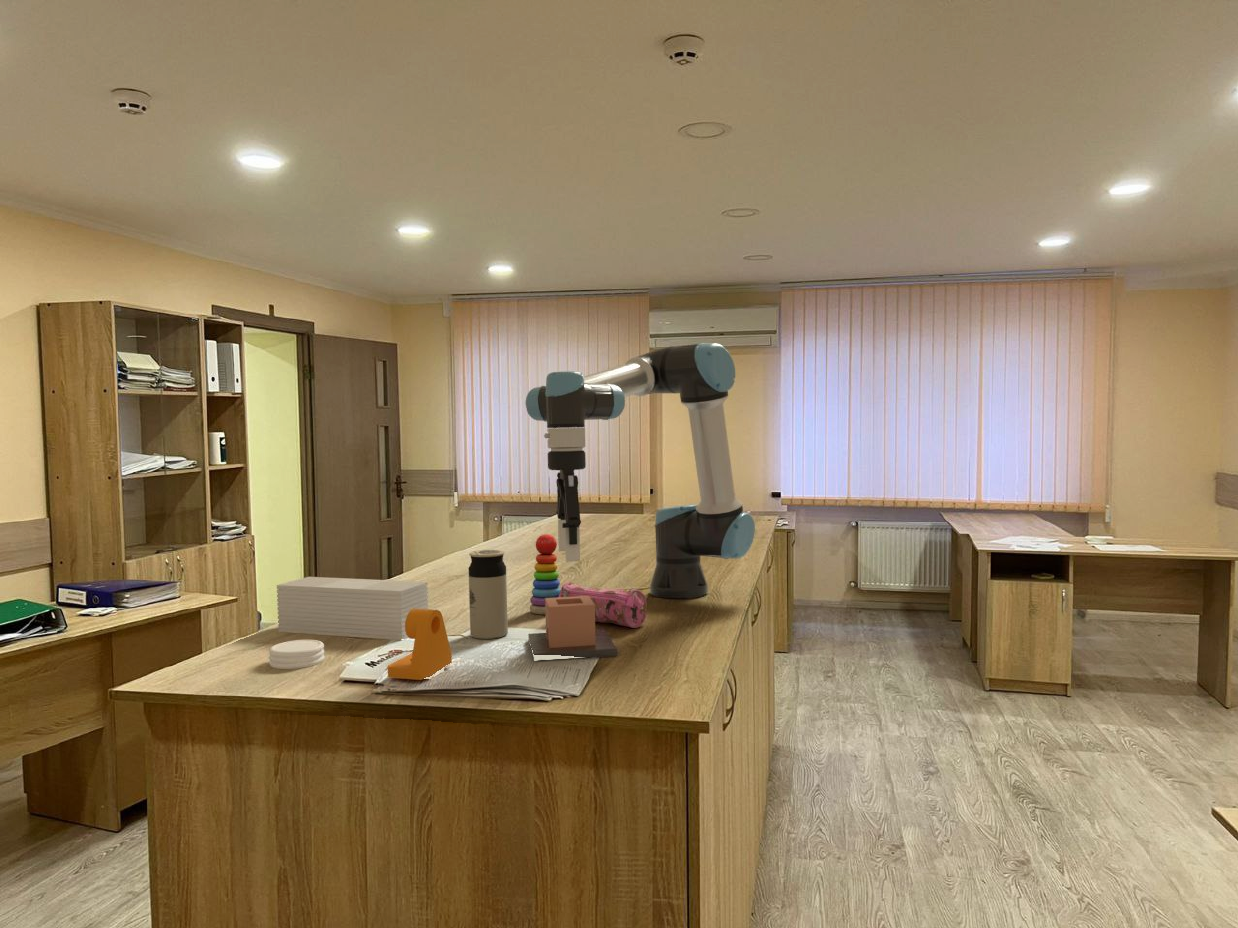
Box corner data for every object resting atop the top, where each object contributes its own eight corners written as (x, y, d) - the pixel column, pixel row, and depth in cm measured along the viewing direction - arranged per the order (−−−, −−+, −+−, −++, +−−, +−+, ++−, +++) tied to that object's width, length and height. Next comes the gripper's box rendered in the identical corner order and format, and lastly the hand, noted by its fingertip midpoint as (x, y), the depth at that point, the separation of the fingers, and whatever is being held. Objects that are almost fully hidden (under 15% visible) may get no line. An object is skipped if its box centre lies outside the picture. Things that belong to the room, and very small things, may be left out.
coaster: (296, 654, 170) (295, 637, 170) (335, 658, 167) (335, 640, 166) (257, 667, 161) (257, 649, 161) (298, 672, 157) (297, 654, 157)
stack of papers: (278, 632, 189) (276, 584, 189) (310, 621, 200) (308, 576, 199) (402, 641, 179) (400, 590, 179) (429, 629, 189) (427, 581, 189)
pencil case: (552, 622, 193) (551, 583, 193) (577, 614, 201) (576, 577, 201) (629, 634, 181) (628, 593, 181) (653, 625, 189) (652, 585, 188)
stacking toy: (558, 615, 199) (556, 536, 198) (525, 614, 201) (523, 536, 200) (566, 608, 207) (564, 532, 206) (535, 607, 209) (533, 532, 208)
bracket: (417, 664, 160) (415, 602, 160) (451, 667, 158) (449, 603, 158) (385, 681, 150) (383, 614, 150) (421, 684, 148) (419, 616, 147)
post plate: (528, 640, 176) (527, 609, 176) (604, 636, 179) (603, 605, 179) (533, 661, 161) (533, 627, 160) (616, 656, 163) (616, 622, 163)
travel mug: (507, 629, 187) (504, 548, 186) (508, 638, 179) (506, 553, 178) (470, 631, 185) (468, 550, 184) (470, 640, 177) (468, 555, 177)
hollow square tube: (546, 636, 173) (545, 598, 173) (589, 633, 175) (588, 595, 175) (549, 647, 165) (548, 607, 164) (595, 644, 166) (594, 604, 166)
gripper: (542, 448, 180) (545, 547, 181) (553, 452, 155) (556, 566, 156) (577, 447, 181) (579, 546, 182) (593, 450, 156) (596, 564, 157)
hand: (569, 556), depth 169 cm, fingers open, 13 cm apart
